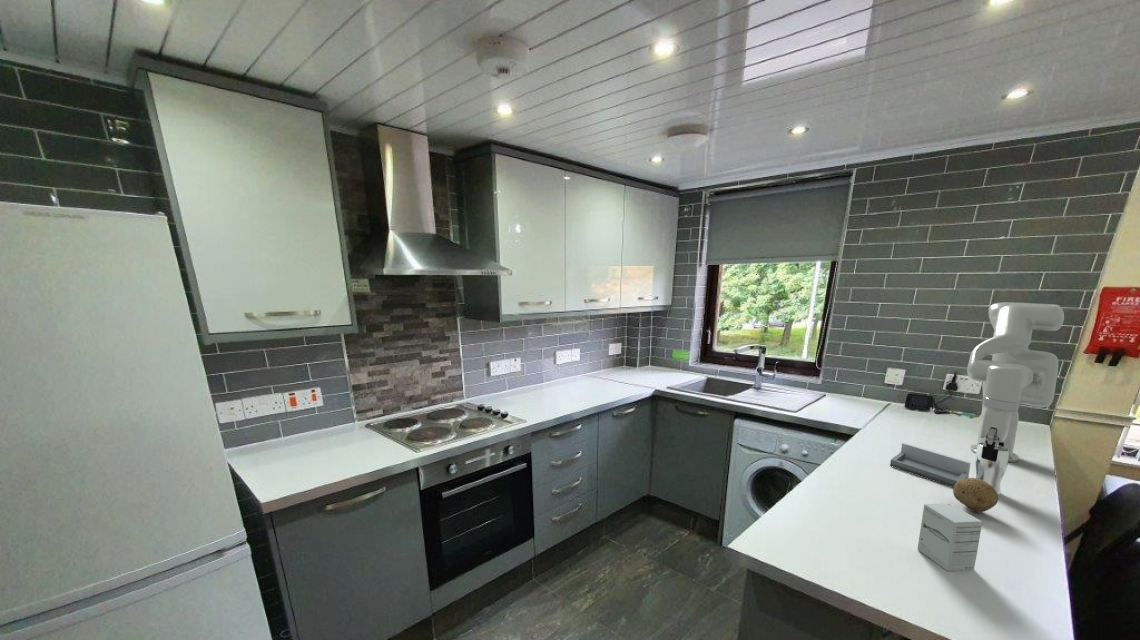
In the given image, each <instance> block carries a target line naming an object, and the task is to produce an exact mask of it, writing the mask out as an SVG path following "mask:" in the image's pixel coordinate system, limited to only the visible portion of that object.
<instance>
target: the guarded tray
mask: <svg viewBox="0 0 1140 640" xmlns="http://www.w3.org/2000/svg"><path fill="white" fill-rule="evenodd" d="M889 466H890V467H892V466H893V468H895V467H896V468H895V469H898V468H899V469H898V470H901V471H903V470H904V472H906V471H907V473H909V472H910V474H912V473H913V474H912V475H915V474H916V476H918V475H919V477H921V476H922V477H921V478H924V477H925V478H924V479H927V478H928V479H927V480H930V479H931V481H933V480H934V481H933V482H936V481H937V482H936V483H939V484H942V485H944V486H947V487H950V486H951V487H952V488H953V487H954V485H955V484H956V483H957V481H959V480H962V479H966V478H970V477H969V476H970V470H971V461H967V460H963V459H961V458H960V459H959V458H958V457H957V458H956V457H954V456H950V455H947V454H943V453H940V452H936V451H933V450H929V449H926V448H923V447H919V446H916V445H912V444H909V443H906V442H902V443H901V448H900V452H899V453H897V454H896V455H894V456H893V457H892V458H890V464H889Z"/></svg>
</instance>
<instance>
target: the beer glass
mask: <svg viewBox="0 0 1140 640" xmlns="http://www.w3.org/2000/svg"><path fill="white" fill-rule="evenodd" d="M983 446H984V442H980V443H978V448H977V451H976V453H975V456H974V457H975V460H974V461H975V462H974V463H975V473H976V476H975V478H977V479H981V480H983V481H985V482H987V483H988V484H990V485H991V486H992V487H993V488H994V489H995V491H996V492H997V494H998V497H999V496H1001V494H1002V493H1001V483H1002V480H1003V478H1004V476H1005V473H1006V472H1007V468H1008V464H1009V462H1008V458H1009V450H1008V449H1007V448H1005V447H1003V446H1000V445H998V447H997V449H998V456H997V461H996V462H994V461H990V460H987V459H983V458H982V457H981V456H982V449H983Z"/></svg>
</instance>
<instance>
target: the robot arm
mask: <svg viewBox="0 0 1140 640" xmlns="http://www.w3.org/2000/svg"><path fill="white" fill-rule="evenodd" d="M1064 313H1065V312H1064V310H1063V308H1062V306H1061V305H1059V304H1052V303H1050V304H1049V303H1032V302H1031V303H1029V302H1011V301H1010V302H1007V301H1006V302H1003V301H1002V302H995V303H992V304H991V305H990V306H989V308H988V318H989V321H990V324H991V326H992V329H993V336H992V337H989V338H987V339H985V340H983V341H982V342H980V343H979V344H978V345H976V346H975V347H974V348H973V349H972V351H971V353H970V356H969V360H968V363H967V367H966V369H967V370H966V373H967V376H968V378H969V379H971V380H972V381H975V382H981V383H982V386H981V387H982V405H981V407H982V408H981V414H980V419H979V426H978V433H977V434H978V435H977V441H976V444H972V445H970V446H969V447H970V451H972V452H973V453H975V454H976V451H977V448H978V443H980V442H984V446H983V449H982V456H981V457H982V458H983V459H987V460H990V461H994V462H996V461H997V456H998V449H997V447H998V445H1000V446H1003V447H1005V448H1007V449H1008V450H1009V458H1008V463H1009V462H1010V463H1015V462H1018V461H1019V458H1020V457H1019V456H1018V455H1017V454H1015V453H1014V448H1015V441H1016V436H1017V431H1018V430H1017V429H1018V424H1019V419H1020V415H1019V408H1020V405H1027V406H1032V407H1037V408H1048V407H1050V406H1051V405H1052V404H1053V402H1054V400H1055V393H1056V387H1057V386H1056V385H1057V379H1058V373H1059V367H1060V366H1059V358H1058V357H1057V355H1056V354H1054V353H1052V352H1048V351H1042V350H1032V349H1029V345H1031V343H1032V334H1033V331H1035V330H1036V331H1047V332H1048V331H1049V332H1056V331H1058V330H1060V329H1061V328H1062V326H1063V324H1064V321H1065V314H1064ZM990 355H991V360H989V359H988V360H987V359H983V358H985V357H988V356H990ZM1034 378H1035V379H1034Z"/></svg>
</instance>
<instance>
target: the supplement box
mask: <svg viewBox="0 0 1140 640" xmlns="http://www.w3.org/2000/svg"><path fill="white" fill-rule="evenodd" d="M921 516H922V518H921V522H920V531H919V535H918V536H919V537H918V543H917V544H918V545H917V551H919V552H920V553H922V554H923V555H925V556H926V557H928V558H929V559H930V560H932V561H933V562H934V563H936V564H937V565H938V566H939V567H941V568H942V569H944V570H945V571H946V572H959V571H960V572H962V571H973V570H975V566H976V560H977V555H978V550H979V545H980V544H979V543H980V537H981V532H982V528H983V527H982V526H983V521H982V520H980V519H978V518H977V517H975V516H973V515H971V514H969V513H967V512H966V511H964V510H963V509H960V508H958V507H956V505H953V504H952V503H949V502H940V503H938V502H937V503H925V504H923V511H922V515H921Z"/></svg>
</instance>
